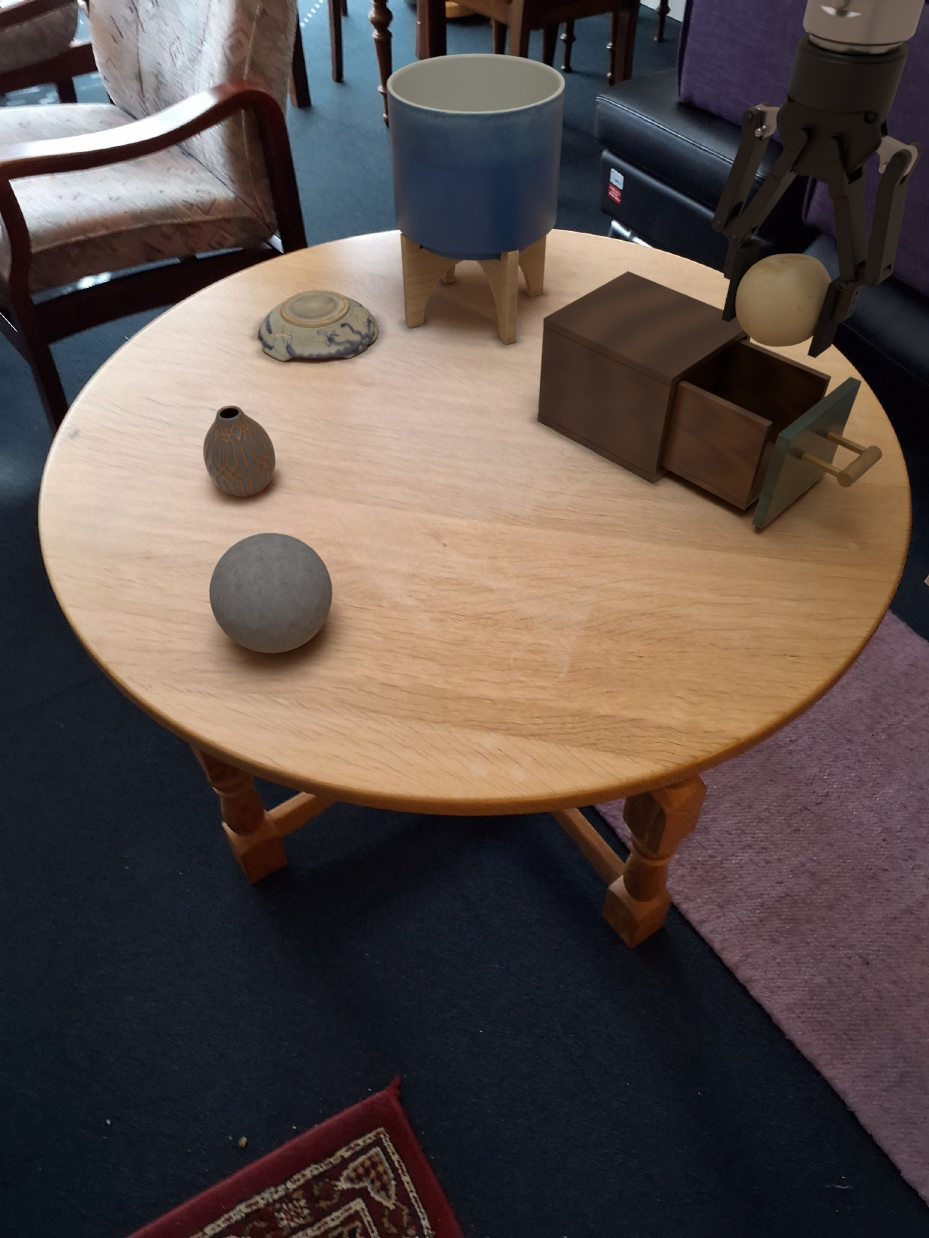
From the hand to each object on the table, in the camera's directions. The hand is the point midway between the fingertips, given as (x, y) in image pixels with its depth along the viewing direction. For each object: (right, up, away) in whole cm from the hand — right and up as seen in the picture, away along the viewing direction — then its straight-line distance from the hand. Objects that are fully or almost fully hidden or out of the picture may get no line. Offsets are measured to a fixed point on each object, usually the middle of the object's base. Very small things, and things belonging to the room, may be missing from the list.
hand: (775, 332), depth 80 cm
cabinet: (-9, -4, +19) cm, 21 cm away
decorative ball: (-44, -27, -1) cm, 51 cm away
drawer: (+2, -11, +11) cm, 16 cm away
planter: (-26, +14, +36) cm, 47 cm away
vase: (-50, -12, +13) cm, 53 cm away
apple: (0, 0, 0) cm, 0 cm away
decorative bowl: (-46, +10, +33) cm, 57 cm away
